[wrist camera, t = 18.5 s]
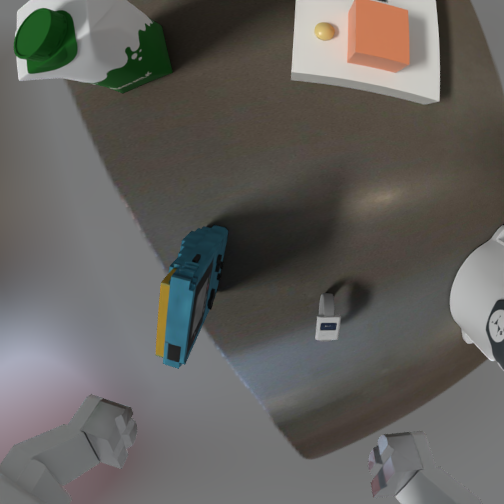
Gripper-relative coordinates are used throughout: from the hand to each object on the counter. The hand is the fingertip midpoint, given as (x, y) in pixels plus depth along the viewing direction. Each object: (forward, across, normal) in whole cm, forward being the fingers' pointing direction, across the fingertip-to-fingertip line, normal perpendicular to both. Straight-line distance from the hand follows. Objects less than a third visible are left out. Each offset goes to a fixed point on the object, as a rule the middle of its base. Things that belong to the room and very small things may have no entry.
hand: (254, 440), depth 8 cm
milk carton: (+29, -18, +19) cm, 39 cm away
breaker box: (+29, +8, +25) cm, 39 cm away
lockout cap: (+25, +8, +21) cm, 34 cm away
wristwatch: (+29, +7, -11) cm, 32 cm away
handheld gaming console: (+29, -8, -6) cm, 31 cm away
